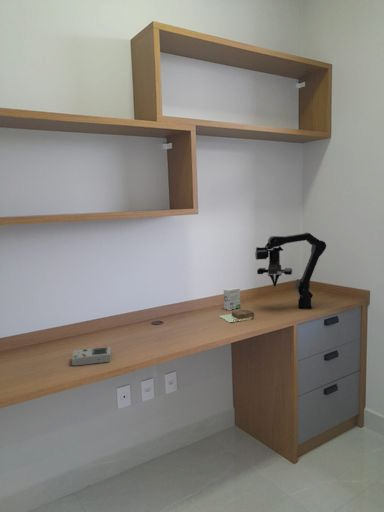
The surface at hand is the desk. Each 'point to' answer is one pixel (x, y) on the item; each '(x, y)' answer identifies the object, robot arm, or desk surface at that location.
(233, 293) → the ink box
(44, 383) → the desk surface
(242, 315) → the walnut plaque
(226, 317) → the green mat
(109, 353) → the handheld gaming device
